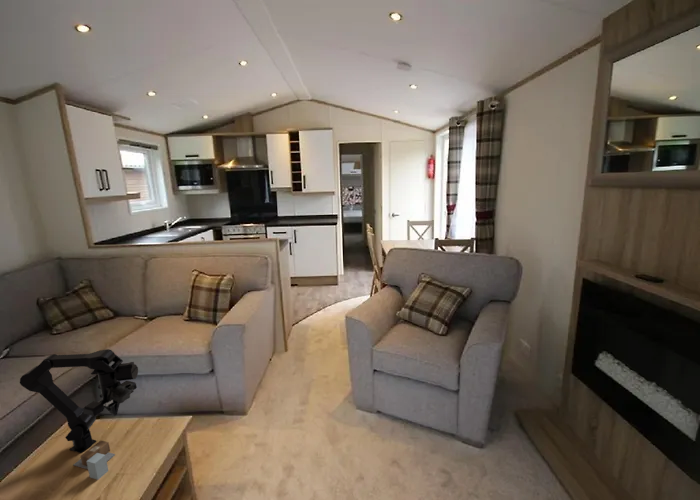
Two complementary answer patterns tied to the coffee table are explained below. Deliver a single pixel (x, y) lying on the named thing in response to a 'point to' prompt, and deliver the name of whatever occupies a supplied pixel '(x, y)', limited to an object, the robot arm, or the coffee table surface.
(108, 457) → the felt mat
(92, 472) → the bluegrey block
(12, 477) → the coffee table surface
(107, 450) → the walnut block
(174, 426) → the coffee table surface
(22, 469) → the coffee table surface
